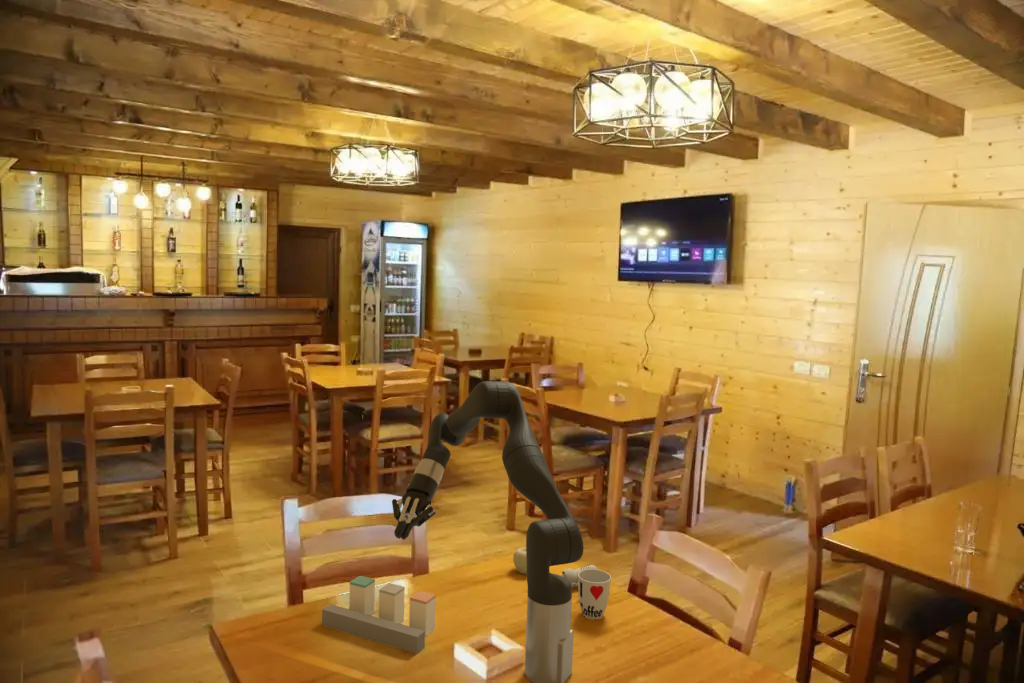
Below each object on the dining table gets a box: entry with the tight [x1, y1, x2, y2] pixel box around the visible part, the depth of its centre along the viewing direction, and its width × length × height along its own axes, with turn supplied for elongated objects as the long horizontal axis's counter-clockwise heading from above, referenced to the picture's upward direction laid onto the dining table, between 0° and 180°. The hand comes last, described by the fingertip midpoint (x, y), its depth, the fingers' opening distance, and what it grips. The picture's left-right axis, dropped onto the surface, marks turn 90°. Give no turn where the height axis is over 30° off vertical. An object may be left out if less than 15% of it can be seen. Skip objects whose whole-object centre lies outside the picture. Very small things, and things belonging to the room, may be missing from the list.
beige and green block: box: [348, 575, 376, 616], centre depth 169 cm, size 4×4×8 cm
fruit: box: [512, 546, 527, 575], centre depth 199 cm, size 8×7×8 cm
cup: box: [577, 569, 612, 620], centre depth 175 cm, size 8×8×10 cm
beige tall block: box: [378, 582, 406, 624], centre depth 166 cm, size 4×4×8 cm
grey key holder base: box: [321, 603, 426, 655], centre depth 165 cm, size 26×16×5 cm, turn 65°
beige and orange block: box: [408, 590, 437, 638], centre depth 162 cm, size 4×4×8 cm
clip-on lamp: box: [560, 564, 599, 589], centre depth 187 cm, size 12×6×18 cm
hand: (399, 537), depth 182 cm, fingers closed
